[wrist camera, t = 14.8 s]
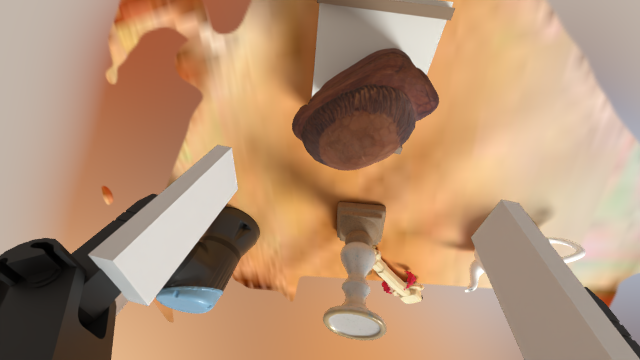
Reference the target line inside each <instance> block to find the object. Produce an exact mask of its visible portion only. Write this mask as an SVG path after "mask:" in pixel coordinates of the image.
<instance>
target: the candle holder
mask: <svg viewBox="0 0 640 360" xmlns="http://www.w3.org/2000/svg"><path fill="white" fill-rule="evenodd" d="M385 215H386V207H385V206H382V205H374V204H363V203H352V202H339V203H338V209H337V236H338V237H339V238H340V240H341V241H345V244H346V245H345V246H344V247H343V248H342V250H341V254H340V255H341V261H342V264H343V266H344V267H345V269H346V271H347V273H348V278H347V279H346V281H345V282H344V283H343V284H342V289H343V291H344V293H345V296H346V299H345V302H344V303H343V304H342V305H341V306H335V307H332V308H330V309H328V310H327V311H326V312H325V314H324V317H323V322H324V324H325V325H326V327H327V328H328V329H330V330H331V331H332V332H334V333H336V334H338V335H341V336H344V337H347V338H351V339H356V340H374V339H378V338H380V337H382V336H383V335H384V334H385V333H386V324H385V322H384V320H383V319H382V318H381V317H380V316H379V315H377V314H376V313H374V312H372V311H370V310H369V309H368V308H367V307H366V303H365V300H366V297H367V296H368V295H369V294H370V287H369V285H368V284H367V282H366V279H365V278H366V276H367V274H368V273H369V271H370V270H371V269H372V268H373V266H374V264H375V262H376V254H375V252H374V250H373V249H372V246H373V245H377V244H378V242H380V241H381V238H382V233H383V227H384V222H385Z"/></svg>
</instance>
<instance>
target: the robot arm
mask: <svg viewBox="0 0 640 360" xmlns="http://www.w3.org/2000/svg"><path fill="white" fill-rule="evenodd" d="M237 190H238V186H237V180H236V173H235V166H234V160H233V153H232V148H231V147H226V146H221V145H217V146H216V147H214V148H213V149H212V150H211V151H210V152H209V153H207V154H206V155H205V156H204V157H203V158H201V159H200V160H199V161H198V162H197V163H196V164H194V165H193V166H192V167H191V168H190V169H188V170H187V171H186V172H185V173H184V174H183V175H181V176H180V177H179V178H178V179H177V180H175V181H174V182H173V183H172V184H171V185H170V186H168V187H167V188H166V189H165V190H164V191H163V192H161V193H160V194H159V195H156V194H151V195H149V196H147V197H145V198H143V199H141V200H139V201H137V202H136V203H135V204H134V205H132V206H131V207H130V208H129V209H127V210H126V212H123V213H122V214H121V215H120V216H118V217H117V218H116V220H115V221H112V222H111V223H110V224H108V225H107V226H106V227H105V228H103V229H102V230H101V231H100V232H98V233H97V234H96V235H95V236H93V237H92V238H91V239H90V240H88V241H87V242H86V243H85V244H83V245H82V246H81V247H80V248H78V249H77V250H76V251H74V252H73V253H72V254H70V253H69V252H68V251H67V250H66V249H65V248H64V247H63V246H62V245H61V244H60V243H59V242H58V241H57V240H55V239H49V238H43V239H36V240H32V241H29V242H26V243H23V244H20V245H18V246H16V247H14V248H12V249H10V250H8V251H6V252H4V253H3V254H2V255H1V256H0V360H111V354H112V345H113V335H114V326H115V317H116V316H117V314H118V313H119V312H120V311H121V309H122V308H123V307H124V306H125V305H126V304H127V302H128V301H131V302H135V303H139V304H143V305H147V306H149V304H150V303H151V302H152V301H153V299H154V298H155V297H156V299H157V300H158V301H159V302H160V303H161V304H163V305H165V306H167V307H169V308H172V309H175V310H178V311H182V312H188V313H205V312H208V311H209V310H211V309H212V308H213V307H214V306H215V304H216V302H217V301H218V299H219V297H220V296H221V295H222V293H223V291H224V289H225V287H226V285H227V283H228V281H229V279H230V277H231V275H232V274H233V272H234V270H235V268H236V266H237V264H238V262H239V260H240V259H241V257H242V256H243V255H244V254H245V253H246V252H247V251H248V250H249V249H250V248H252V247H253V246H254V245H255V243H256V242H257V240H258V238H259V235H260V230H259V227H258V225H257V224H256V222H255V221H254V220H253V219H252V218H251V217H250V216H248V215H247V214H245V213H244V212H242V211H240V210H237V209H234V208H230V207H225V205H226V204H227V203H228V201H229V200H230V199H231V197H232V196H233V195H234V194H235V192H236V191H237ZM471 239H472V242H473V244H474V246H475V249H476V251H477V253H478V255H479V258H480V260H481V262H482V264H483V267H484V269H485V271H486V274H487V276H488V278H489V280H490V283H491V285H492V287H493V289H494V292H495V294H496V296H497V298H498V301H499V303H500V305H501V307H502V310H503V312H504V314H505V317H506V319H507V321H508V324H509V326H510V328H511V330H512V332H513V335H514V337H515V339H516V342H517V344H518V346H519V349H520V351H521V353H522V355H523V358H524V360H640V346H639V345H638V344H637V343H636V341H634V340H632V339H631V335H630V334H629V333H628V331H627V330H626V329H625V328H624V326H623V325H620V324H619V320H618V319H617V318H616V316H615V315H614V314H613V313H612V312H611V310H610V309H609V308H608V306H607V305H606V304H605V303H604V302H603V301H602V300H601V299H599V298H598V297H597V296H596V295H595V294H594V293H593V292H592V291H590V290H589V289H588V288H587V287H583V285H582V284H581V283H580V281H579V280H578V279H577V278H576V276H575V275H574V274H573V272H572V271H571V270H570V268H569V267H568V266H567V265H566V263H565V262H564V261H563V259H562V258H561V257H560V256H559V254H558V253H557V252H556V250H555V249H554V248H553V247H552V245H551V244H550V243H549V241H548V240H547V239H546V237H545V236H544V235H543V234H542V232H541V231H540V230H539V228H538V227H537V226H536V225H535V223H534V222H533V221H532V219H531V218H530V217H529V216H528V214H527V213H526V212H525V210H524V209H523V208H522V206H521V205H520V204H519V203H516V202H511V201H506V200H501V201H500V202H499V203H498V204H497V206H496V207H495V208H494V209H493V211H492V212H491V213H490V214H489V216H488V217H487V218H486V219H485V221H484V222H483V223H482V224H481V226H480V227H479V228H478V229H477V231H476V232H475V233H474V234H473V235H472V237H471Z"/></svg>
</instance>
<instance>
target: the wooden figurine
mask: <svg viewBox="0 0 640 360" xmlns="http://www.w3.org/2000/svg"><path fill="white" fill-rule="evenodd" d="M438 103H439V98H438V94H437V92H436V90H435V89H434V87H433V85H432V83H431V82H430V80H429V78H428V76H427V75H426V74H425V73H424V72H423V71H422V70H421V69H419V68H416V66H415V65H414V64H413V63H412V61H411V59H410V57H409V56H408V55H407V54H406V53H405V52H403V51H401V50H399V49H396V48H389V49H382V50H378V51H376V52H374V53H372V54H370V55H368V56H366V57H365V58H363V59H361V60H360V61H358V62H357V63H355V64H354V65H352V66H350V67H349V68H347V69H345V70H344V71H342V72H340V73H339V74H337V75H336V76H334V77H333V78H332V79H330V80H329V81H327V82H326V83H325V84H324V85H323V86H322V87H321V89H320V90H319V91H317V92H316V93H315V94H314V95H313V97H312V98H311V99H310V101H309V103H308V105H304V106H302V107H301V108H300V109H299V111H298V112H297V114H296V115H295V117H294V119H293V123H292V130H293V132H294V134H295V136H296V137H297V138H299V139H300V140H301V141H302V142H303V144H304V146H305V148H306V150H307V152H308V153H309V154H310V155H311V156H312V157H313V158H314V159H315V160H316V161H318V162H320V163H322V164H325V165H327V166H329V167H332V168H335V169H338V170H356V169H360V168H363V167H366V166H369V165H371V164H373V163H376V162H379V161H381V160H383V159H385V158H387V157H389V156H390V155H391V154H393V153H394V152H395V151H396V150H397V149H398V148H399V147H400V146H401V145H402V144H404V143H405V142H406V141H407V140H408V138H409V137H410V135H411V133H412V131H413V130H414V128H415V122H416V121H418V120H421V119H422V118H424V117H426V116H427V115H429V114H431V113H432V112H433V111H434V110H435V109H436V108H437V106H438Z"/></svg>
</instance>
